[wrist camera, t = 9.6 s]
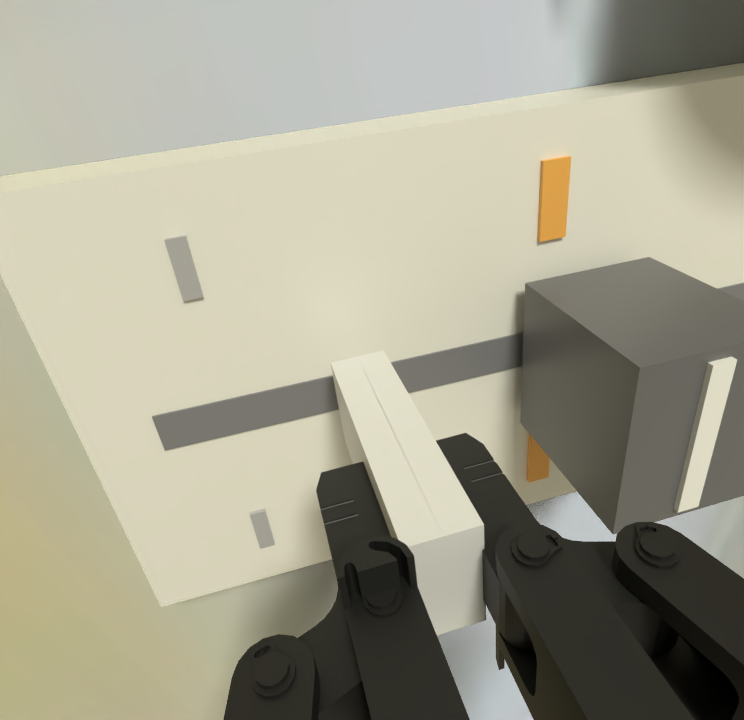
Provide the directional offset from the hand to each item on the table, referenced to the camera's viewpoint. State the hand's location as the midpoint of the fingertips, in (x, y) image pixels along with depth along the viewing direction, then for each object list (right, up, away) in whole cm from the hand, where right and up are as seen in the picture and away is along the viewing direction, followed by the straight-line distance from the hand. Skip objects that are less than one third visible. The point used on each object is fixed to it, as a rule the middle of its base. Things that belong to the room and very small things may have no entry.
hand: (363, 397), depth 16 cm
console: (+3, +2, +4) cm, 6 cm away
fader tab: (+7, +2, +2) cm, 7 cm away
